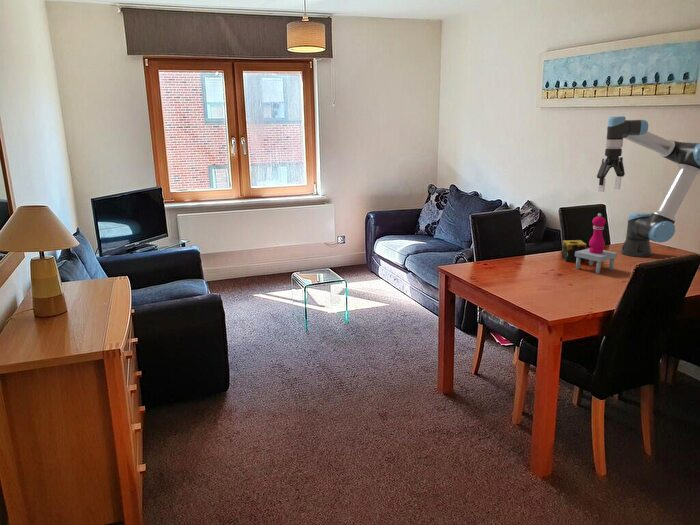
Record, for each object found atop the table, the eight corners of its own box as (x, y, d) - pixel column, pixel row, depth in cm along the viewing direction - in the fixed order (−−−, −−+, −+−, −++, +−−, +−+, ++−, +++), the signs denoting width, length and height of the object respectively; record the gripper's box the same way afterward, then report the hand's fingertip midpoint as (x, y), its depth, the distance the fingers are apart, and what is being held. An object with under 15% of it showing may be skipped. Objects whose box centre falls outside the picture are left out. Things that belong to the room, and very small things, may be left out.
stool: (590, 264, 273) (591, 247, 271) (615, 270, 262) (617, 252, 260) (573, 268, 266) (575, 251, 264) (598, 274, 255) (600, 257, 253)
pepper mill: (602, 254, 257) (606, 214, 252) (587, 253, 261) (590, 213, 256) (604, 251, 263) (608, 212, 258) (589, 250, 267) (593, 211, 262)
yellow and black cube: (579, 257, 287) (581, 240, 285) (585, 262, 278) (587, 244, 275) (560, 257, 288) (562, 240, 286) (566, 262, 279) (567, 244, 276)
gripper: (621, 146, 269) (616, 187, 274) (591, 149, 256) (587, 191, 262) (635, 147, 263) (630, 188, 268) (605, 149, 250) (601, 193, 256)
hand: (609, 190), depth 265 cm, fingers open, 13 cm apart
